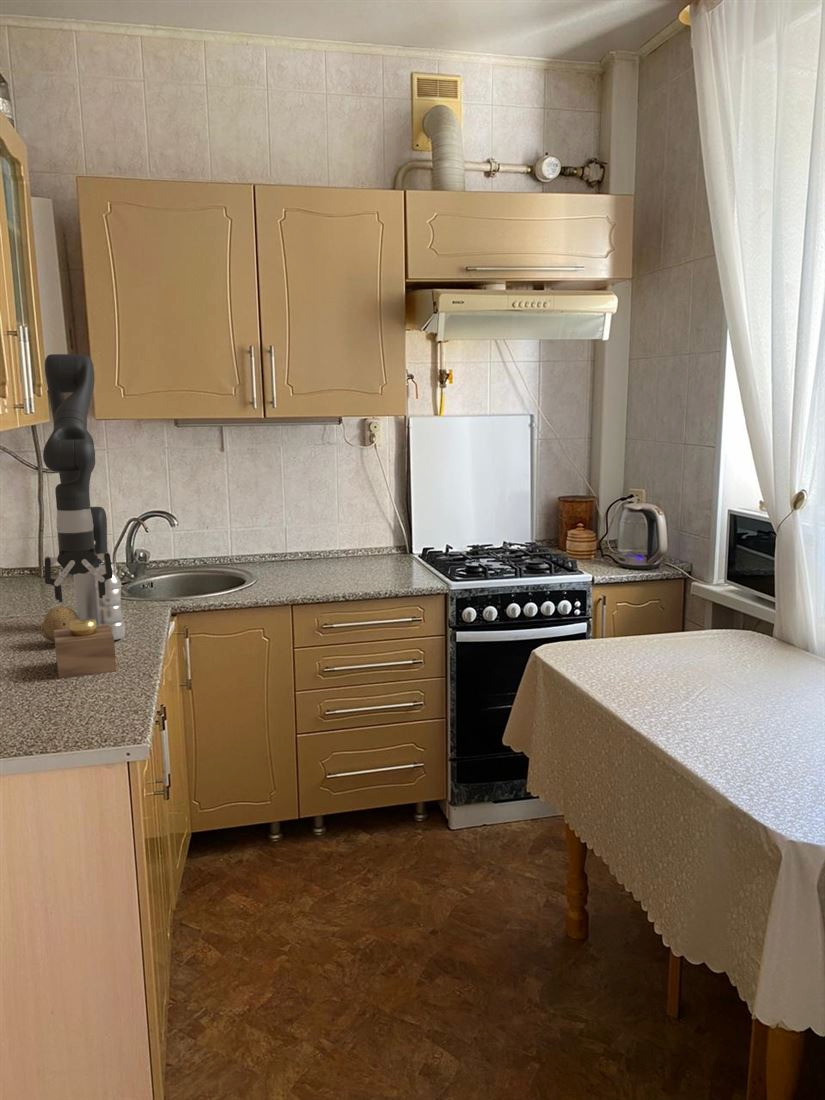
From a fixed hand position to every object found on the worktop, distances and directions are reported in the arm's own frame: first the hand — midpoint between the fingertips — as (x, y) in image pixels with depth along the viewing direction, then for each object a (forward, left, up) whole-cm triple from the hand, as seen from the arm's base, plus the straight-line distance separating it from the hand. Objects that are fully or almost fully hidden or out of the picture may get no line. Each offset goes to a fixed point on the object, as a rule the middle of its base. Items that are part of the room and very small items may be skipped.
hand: (80, 599), depth 190 cm
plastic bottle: (-23, +8, -16) cm, 29 cm away
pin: (0, 0, -15) cm, 15 cm away
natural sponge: (-24, -4, -16) cm, 29 cm away
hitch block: (0, 0, -16) cm, 16 cm away
